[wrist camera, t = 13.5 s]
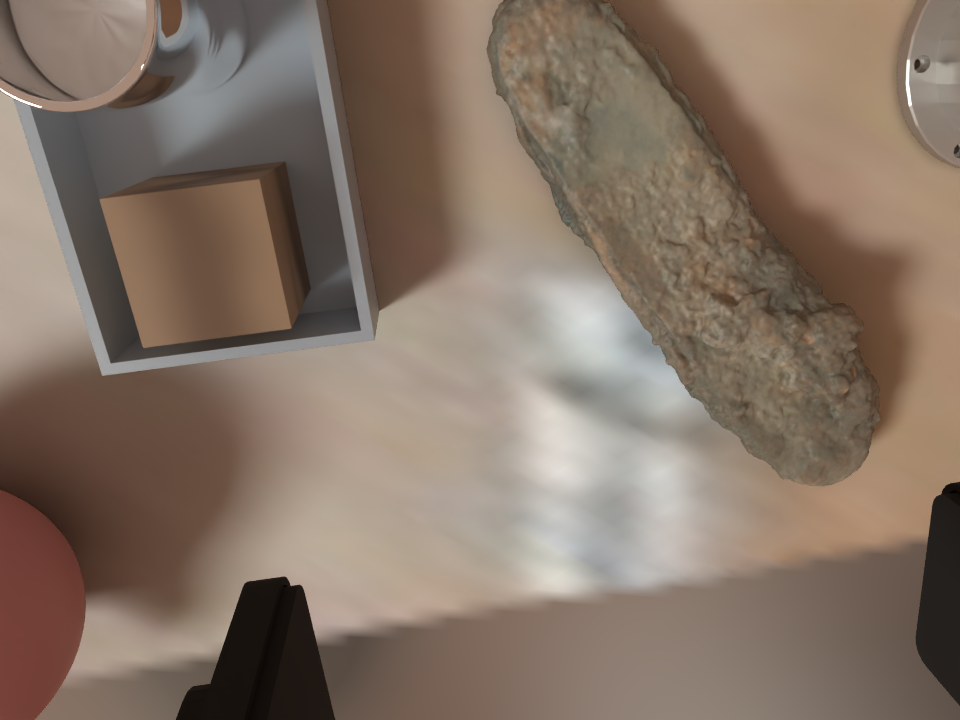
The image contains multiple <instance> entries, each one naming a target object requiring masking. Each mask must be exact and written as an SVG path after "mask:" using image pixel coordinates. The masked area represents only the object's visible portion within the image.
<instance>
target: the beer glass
mask: <svg viewBox="0 0 960 720" xmlns="http://www.w3.org/2000/svg"><path fill="white" fill-rule="evenodd" d="M247 44H248V24H247V18H246V14H245V11H244V8H243V5H242V3H241V1H240V0H0V91H1V92H2V93H4V94H6V95H7V96H9V97H11V98H13V99H15V100H17V101H19V102H22V103H24V104H27V105H29V106H32V107H35V108H39V109H43V110H48V111H54V112H82V113H122V112H131V111H136V110H140V109H144V108H148V107H152V106H155V105H157V104H160V103H162V102H164V101H166V100H168V99H170V98H171V97H173V96H175V95H176V94H178V93H179V92H181V91H182V92H203V91H207V90H211V89H214V88H216V87H218V86H220V85H222V84H223V83H225V82H226V81H227V80H228V79H230V78H231V77H232V76H233V74H234V73H235V72H236V71H237V69H238V68H239V66H240V64H241V63H242V61H243V58H244V56H245V53H246V49H247Z"/></svg>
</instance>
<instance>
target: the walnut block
mask: <svg viewBox="0 0 960 720" xmlns="http://www.w3.org/2000/svg"><path fill="white" fill-rule="evenodd" d="M99 200H100V203H101V207H102V210H103V214H104V217H105V220H106V224H107V227H108V231H109V234H110V237H111V241H112V244H113V248H114V251H115V254H116V258H117V261H118V265H119V268H120V271H121V275H122V278H123V281H124V285H125V288H126V292H127V295H128V298H129V302H130V305H131V309H132V312H133V315H134V319H135V322H136V326H137V329H138V332H139V336H140V339H141V343H142V346H143V348H147V347H154V346H162V345H170V344H177V343H185V342H193V341H200V340H208V339H216V338H223V337H231V336H239V335H246V334H254V333H262V332H269V331H277V330H285V329H292V326H293V324H294V322H295V320H296V318H297V316H298V314H299V312H300V310H301V308H302V306H303V304H304V302H305V300H306V298H307V296H308V294H309V292H310V290H311V287H310V282H309V277H308V272H307V267H306V262H305V257H304V252H303V247H302V242H301V237H300V232H299V227H298V222H297V217H296V212H295V207H294V202H293V197H292V192H291V187H290V182H289V177H288V173H287V168H286V163H285V161H284V162H275V163H267V164H259V165H251V166H243V167H235V168H227V169H219V170H210V171H202V172H194V173H186V174H178V175H170V176H162V177H154V178H150V179H147V180H145V181H142V182H140V183H138V184H135V185H133V186H130V187H128V188H125V189H123V190H120V191H118V192H115V193H113V194H110V195H108V196H105V197H103V198H101V199H99Z"/></svg>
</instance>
